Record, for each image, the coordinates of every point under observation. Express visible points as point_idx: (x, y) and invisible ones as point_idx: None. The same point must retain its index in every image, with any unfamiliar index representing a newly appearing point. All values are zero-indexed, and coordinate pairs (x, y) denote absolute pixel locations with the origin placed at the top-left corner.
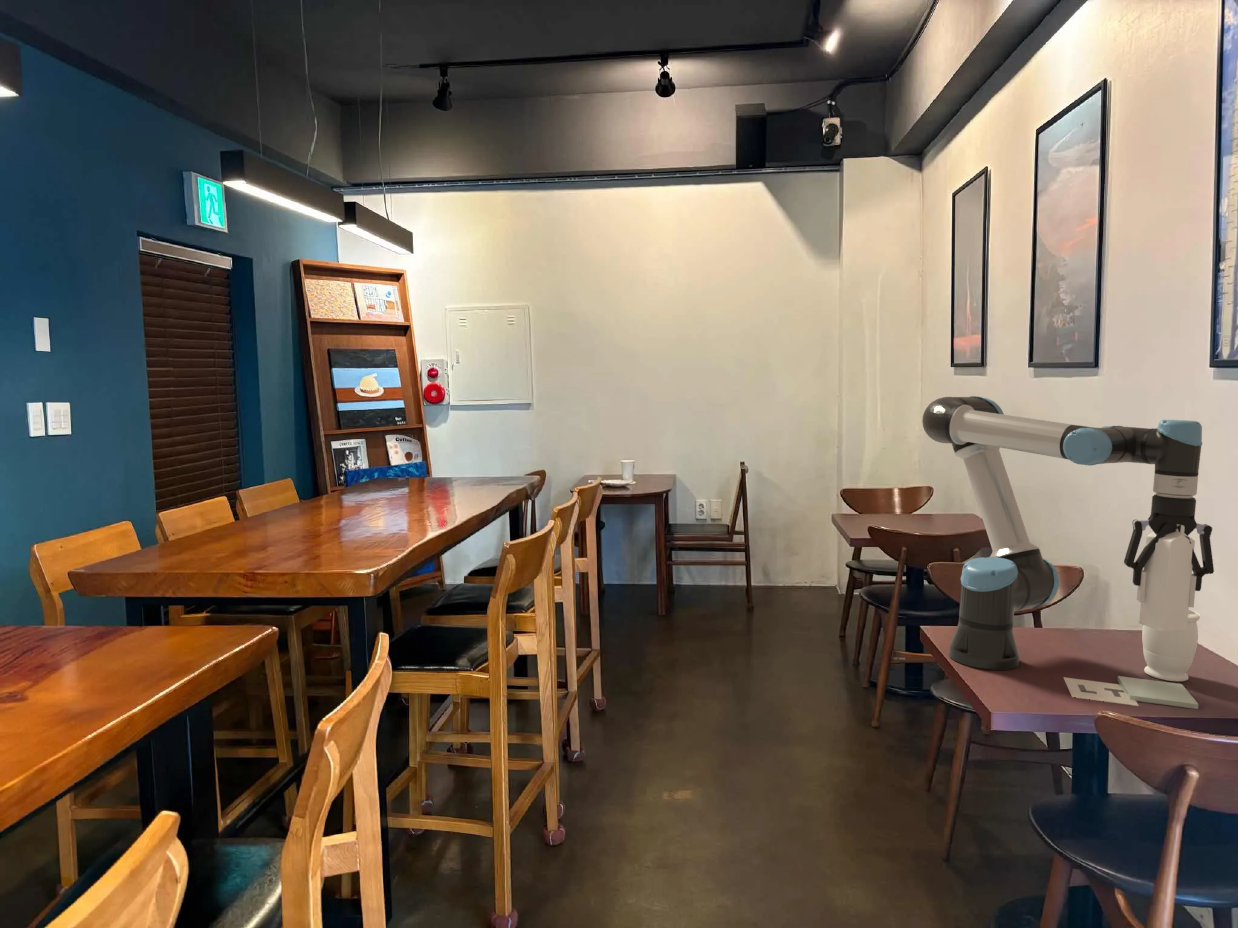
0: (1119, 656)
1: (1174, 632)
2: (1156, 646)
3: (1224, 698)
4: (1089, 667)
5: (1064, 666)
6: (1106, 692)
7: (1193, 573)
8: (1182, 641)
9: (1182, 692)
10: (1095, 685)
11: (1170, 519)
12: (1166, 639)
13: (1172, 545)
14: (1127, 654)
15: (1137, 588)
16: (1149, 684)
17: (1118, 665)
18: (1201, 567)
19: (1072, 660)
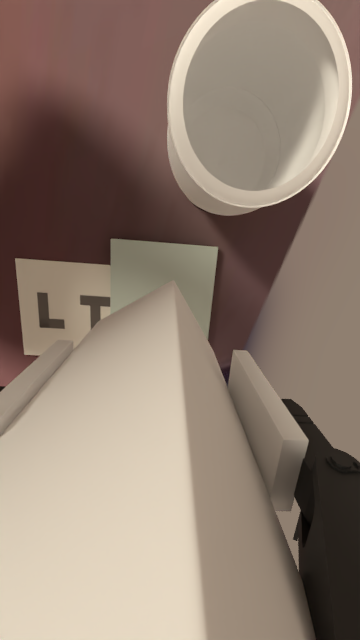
0: (154, 36)
1: (227, 208)
2: (186, 196)
3: (271, 276)
4: (71, 166)
5: (20, 178)
6: (81, 316)
7: (304, 467)
8: (243, 213)
9: (202, 295)
10: (67, 286)
11: None
12: (206, 208)
13: None
14: (179, 5)
15: (36, 359)
16: (157, 271)
17: (135, 125)
18: None
19: (40, 121)
